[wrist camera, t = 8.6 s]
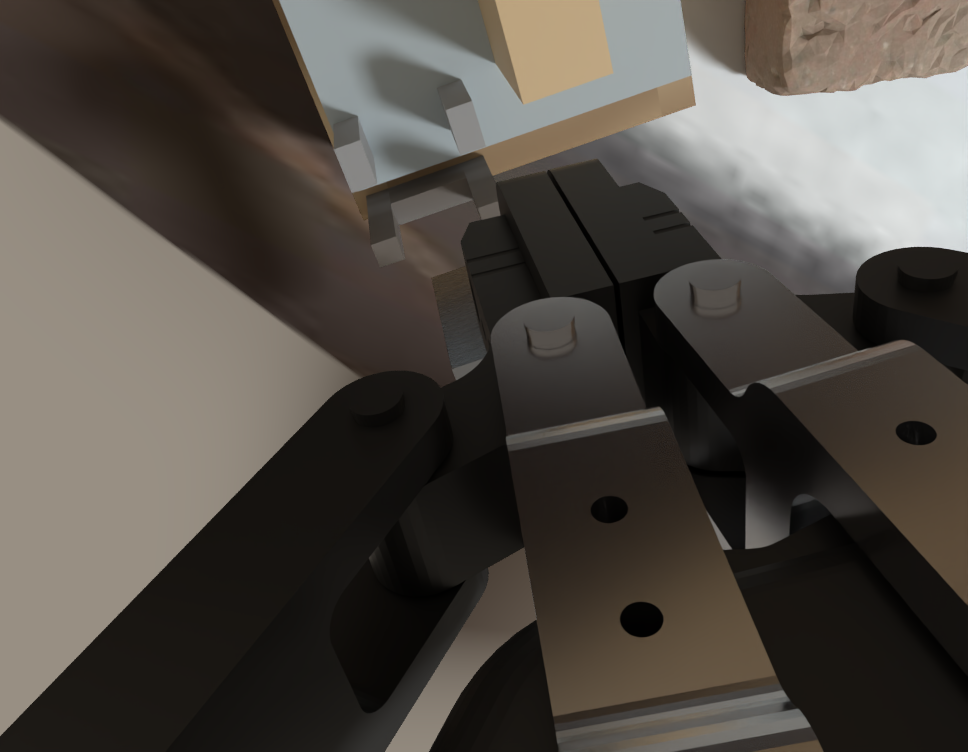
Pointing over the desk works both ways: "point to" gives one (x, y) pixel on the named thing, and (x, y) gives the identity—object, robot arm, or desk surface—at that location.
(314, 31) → the lid
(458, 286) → the grey angled block
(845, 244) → the desk surface
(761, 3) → the brick
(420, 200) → the wooden box
